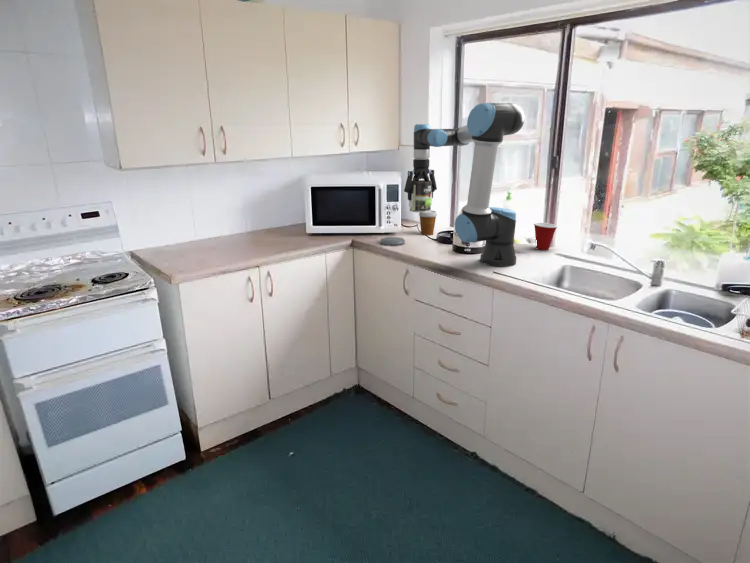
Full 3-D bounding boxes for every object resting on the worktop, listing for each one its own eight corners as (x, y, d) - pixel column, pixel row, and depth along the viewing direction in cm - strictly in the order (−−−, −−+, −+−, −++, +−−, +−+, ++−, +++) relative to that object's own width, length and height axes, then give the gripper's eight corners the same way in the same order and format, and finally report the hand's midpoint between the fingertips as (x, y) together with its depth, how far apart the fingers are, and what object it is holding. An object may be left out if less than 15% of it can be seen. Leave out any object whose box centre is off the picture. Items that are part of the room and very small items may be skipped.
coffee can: (434, 210, 243) (435, 180, 239) (423, 213, 235) (424, 183, 231) (416, 208, 249) (417, 179, 245) (405, 211, 241) (405, 181, 237)
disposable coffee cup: (421, 236, 261) (422, 213, 257) (415, 232, 270) (416, 210, 266) (438, 235, 263) (439, 212, 259) (432, 231, 272) (433, 209, 268)
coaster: (409, 243, 246) (409, 240, 246) (388, 247, 240) (388, 244, 240) (396, 238, 256) (396, 236, 255) (375, 241, 250) (375, 238, 250)
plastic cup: (559, 250, 234) (563, 225, 231) (540, 252, 231) (542, 226, 227) (545, 245, 244) (548, 220, 240) (526, 246, 241) (528, 222, 237)
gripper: (436, 157, 243) (434, 203, 250) (396, 159, 232) (396, 207, 239) (445, 158, 237) (443, 205, 244) (405, 160, 226) (404, 209, 233)
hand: (420, 206), depth 242 cm, fingers closed on coffee can, 10 cm apart
